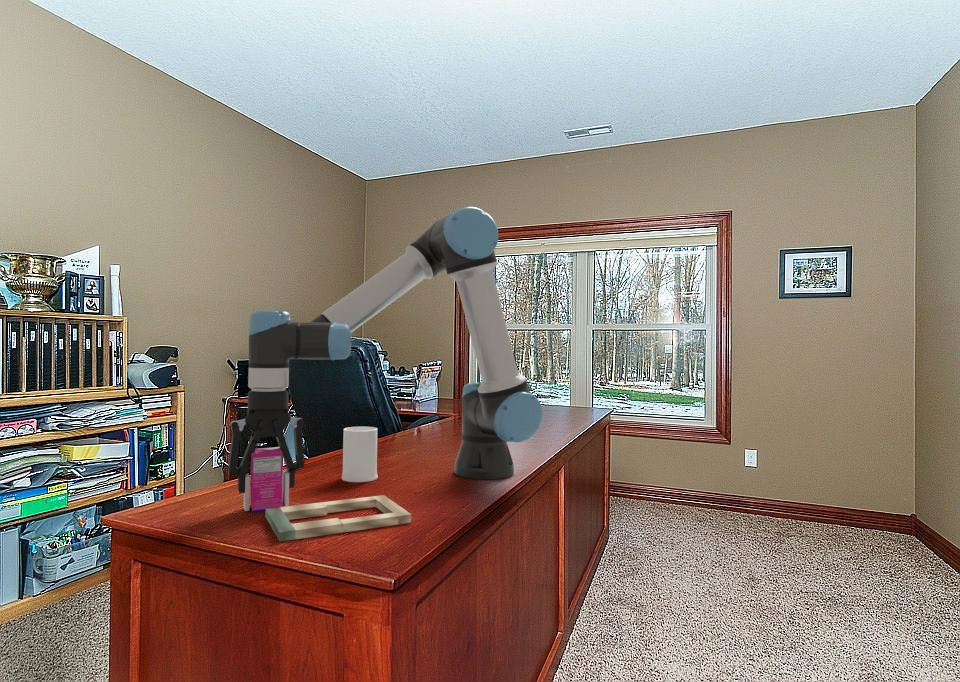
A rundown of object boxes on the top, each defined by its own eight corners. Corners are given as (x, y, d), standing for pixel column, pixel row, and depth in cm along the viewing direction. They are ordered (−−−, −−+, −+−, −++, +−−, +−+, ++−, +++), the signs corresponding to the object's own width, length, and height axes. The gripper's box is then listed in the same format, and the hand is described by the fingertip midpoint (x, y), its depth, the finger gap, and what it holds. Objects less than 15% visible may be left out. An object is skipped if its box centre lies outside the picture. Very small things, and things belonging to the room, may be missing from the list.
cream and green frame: (383, 502, 118) (383, 495, 118) (411, 522, 105) (411, 514, 105) (265, 516, 107) (265, 508, 107) (279, 541, 94) (279, 532, 94)
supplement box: (249, 505, 114) (250, 448, 114) (280, 503, 117) (281, 446, 117) (250, 513, 109) (251, 453, 109) (283, 510, 111) (284, 451, 111)
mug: (357, 470, 147) (358, 423, 147) (388, 473, 145) (389, 425, 145) (335, 481, 136) (336, 430, 136) (368, 483, 134) (369, 432, 134)
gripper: (314, 387, 121) (312, 496, 121) (212, 389, 111) (209, 508, 111) (323, 389, 114) (321, 505, 114) (215, 392, 105) (212, 518, 105)
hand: (266, 506), depth 113 cm, fingers open, 7 cm apart
